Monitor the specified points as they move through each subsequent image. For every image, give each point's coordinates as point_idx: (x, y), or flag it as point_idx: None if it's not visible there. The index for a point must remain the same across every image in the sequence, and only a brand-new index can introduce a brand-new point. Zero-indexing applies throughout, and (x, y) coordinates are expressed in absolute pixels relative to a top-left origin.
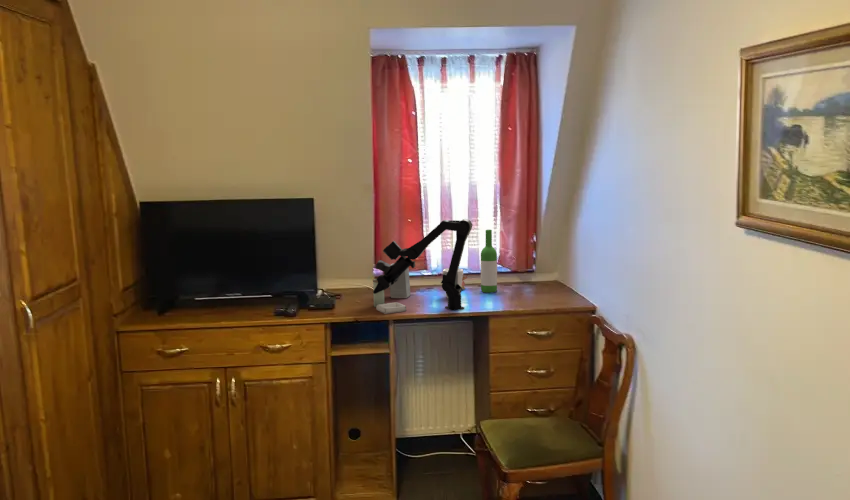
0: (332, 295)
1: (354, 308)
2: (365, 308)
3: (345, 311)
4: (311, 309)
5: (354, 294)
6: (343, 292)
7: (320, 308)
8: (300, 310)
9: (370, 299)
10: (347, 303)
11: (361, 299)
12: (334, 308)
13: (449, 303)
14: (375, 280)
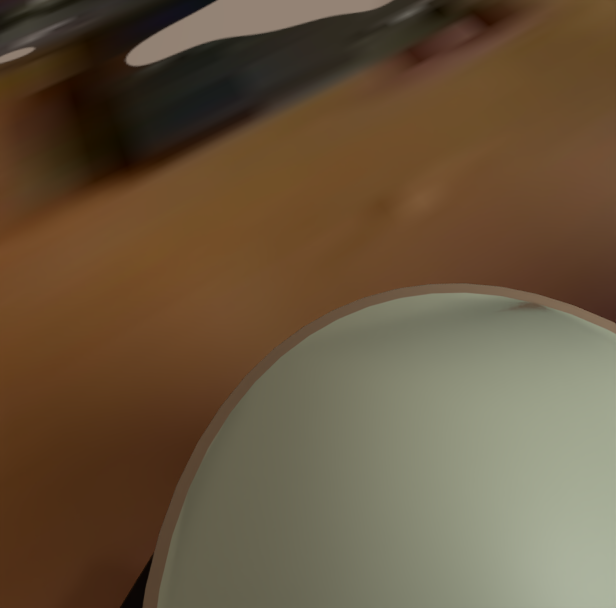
0: (459, 2)
1: (168, 310)
2: (198, 407)
3: (39, 306)
4: (68, 91)
5: (579, 69)
6: (568, 4)
7: (107, 115)
8: (32, 63)
9: (540, 239)
10: (313, 170)
11: (488, 181)
12: (127, 181)
13: None
14: (190, 587)
